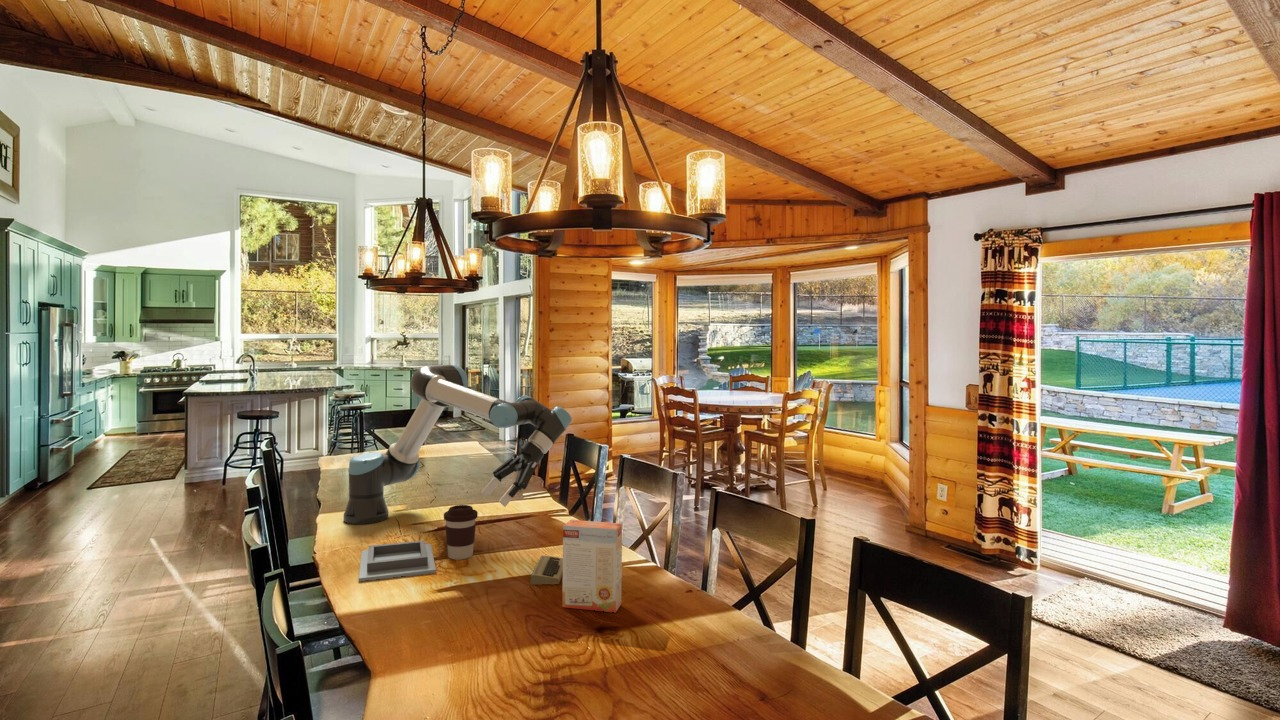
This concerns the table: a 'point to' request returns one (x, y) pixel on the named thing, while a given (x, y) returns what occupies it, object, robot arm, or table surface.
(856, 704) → the table surface
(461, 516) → the coffee cup
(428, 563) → the pocket plate
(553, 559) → the computer
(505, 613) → the table surface
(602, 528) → the cracker box
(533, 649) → the table surface
